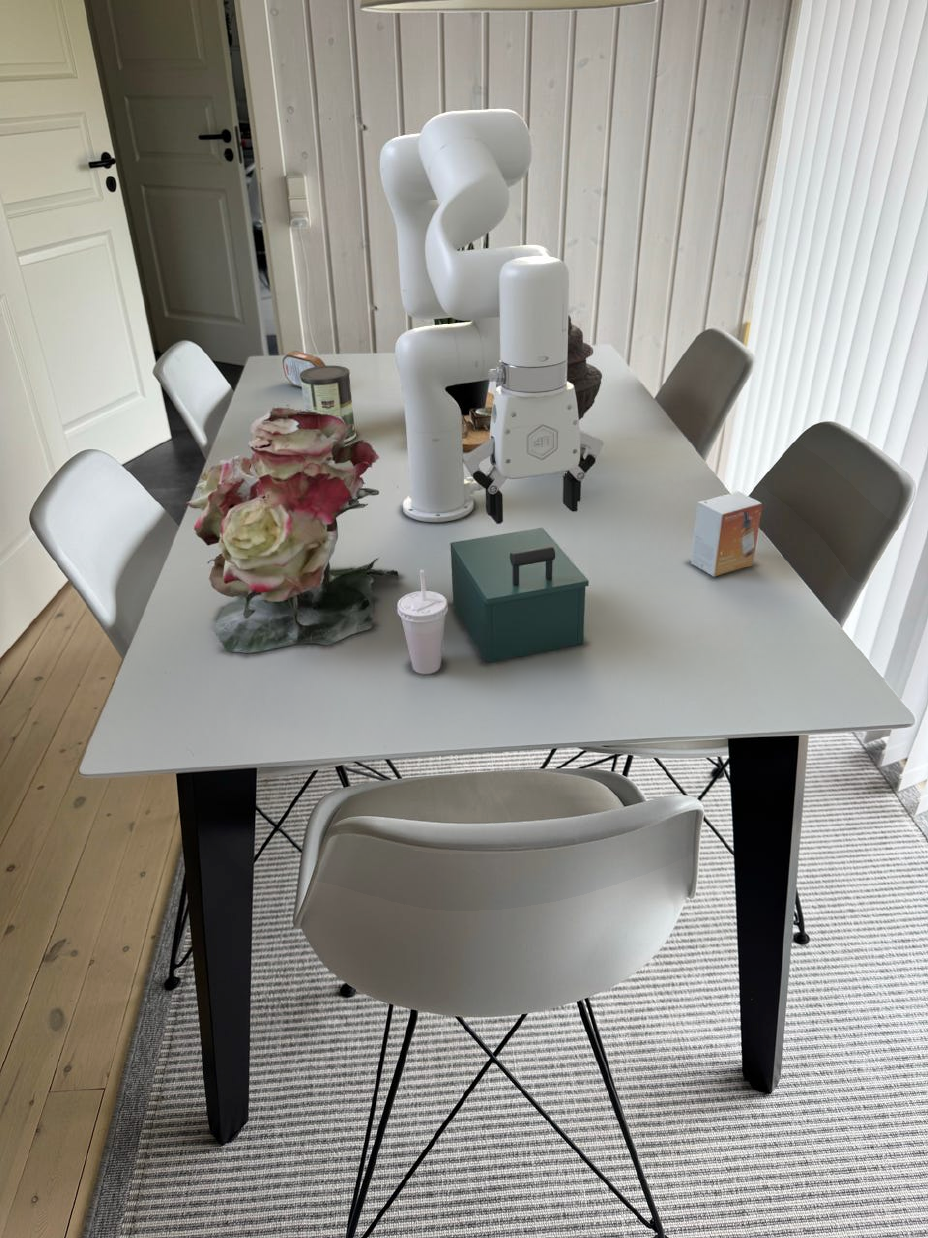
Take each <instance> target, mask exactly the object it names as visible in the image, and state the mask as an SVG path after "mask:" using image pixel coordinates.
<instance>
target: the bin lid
mask: <svg viewBox="0 0 928 1238" xmlns="http://www.w3.org/2000/svg"><path fill="white" fill-rule="evenodd" d="M451 549H452V551H453V552H454V554H455V555H456V557H457V558H458V560H459V562H460V563H461V565H462V566H463V568H464V569H465V571H466V573H467V574H468V576H469V577H470V579H471V580H472V582H473V584H474V585H475V587H476V588H477V590H478V591H479V593H480V594H481V596H482V598H483V599H484V601H485V602H486V604H492V603H498V602H503V601H509V600H514V599H520V598H525V597H531V596H536V595H542V594H547V593H553V592H558V591H564V590H569V589H575V588H580V587H585V588H586V587H589V584H590V583H589V582H590V581H589V579H588V578H587V577H586V576H585V575H584V574H583V572H582V571H581V570H580V568H578V566H577V565H575V563H574V562H573V561H572V559H571V558H570V557H569V556H568V555H567V554H566V552H565V551H564V550H562V549H563V548H561V547H560V546H559V545H558V544H557V542H556V541H555V540H554V539H553V538H552V537H551V535H550V534H549V533H548V532H547V530H545V528H543V527H537V528H532V529H525V530H520V531H514V532H506V533H501V534H495V535H488V536H483V537H475V538H470V539H464V540H459V541H453V542H450V550H451Z"/></svg>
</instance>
